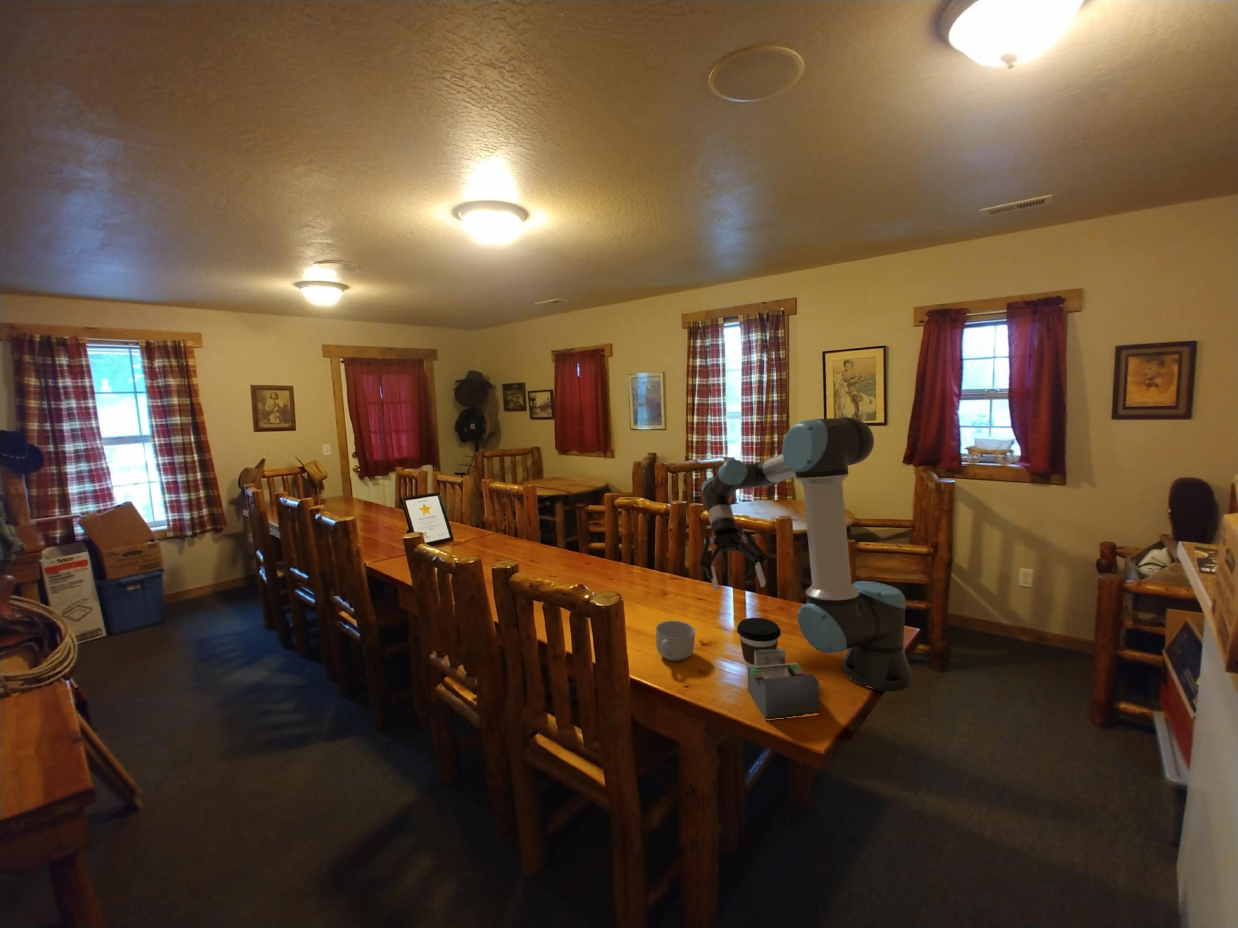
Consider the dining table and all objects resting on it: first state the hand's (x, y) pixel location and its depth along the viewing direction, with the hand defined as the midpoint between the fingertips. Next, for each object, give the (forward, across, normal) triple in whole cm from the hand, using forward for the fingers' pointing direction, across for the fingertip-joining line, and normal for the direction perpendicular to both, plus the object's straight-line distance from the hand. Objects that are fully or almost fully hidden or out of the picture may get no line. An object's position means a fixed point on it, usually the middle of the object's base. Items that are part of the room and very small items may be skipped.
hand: (740, 587), depth 144 cm
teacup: (+15, +21, -10) cm, 27 cm away
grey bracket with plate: (+28, 0, +5) cm, 29 cm away
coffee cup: (+22, 0, -3) cm, 22 cm away
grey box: (+33, 0, +8) cm, 33 cm away
